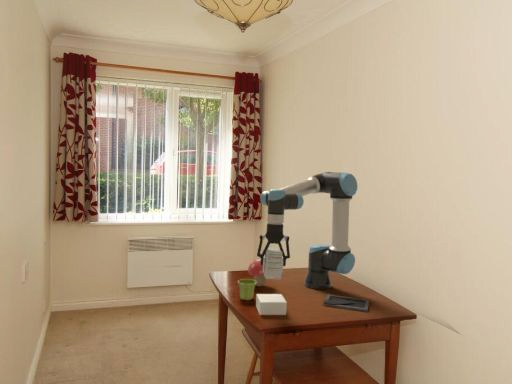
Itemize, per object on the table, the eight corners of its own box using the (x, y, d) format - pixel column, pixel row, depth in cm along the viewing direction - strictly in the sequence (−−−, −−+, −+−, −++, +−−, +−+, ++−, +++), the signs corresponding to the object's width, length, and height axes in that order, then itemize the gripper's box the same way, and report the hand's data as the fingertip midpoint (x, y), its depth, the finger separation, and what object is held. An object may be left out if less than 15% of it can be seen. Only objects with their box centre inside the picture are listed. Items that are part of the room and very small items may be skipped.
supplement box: (263, 274, 198) (264, 248, 197) (279, 275, 199) (280, 248, 198) (265, 279, 191) (266, 251, 190) (281, 279, 191) (283, 251, 191)
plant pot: (241, 302, 205) (242, 284, 204) (233, 296, 213) (234, 279, 213) (258, 300, 209) (259, 283, 209) (250, 294, 218) (251, 278, 217)
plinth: (280, 306, 203) (281, 294, 202) (286, 315, 191) (286, 302, 191) (255, 306, 201) (256, 294, 201) (259, 315, 189) (260, 302, 189)
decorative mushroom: (247, 282, 240) (248, 256, 239) (271, 283, 239) (272, 257, 238) (246, 289, 227) (247, 261, 226) (271, 290, 226) (272, 263, 225)
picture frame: (322, 306, 206) (367, 313, 200) (323, 302, 206) (367, 309, 200) (327, 297, 222) (368, 303, 215) (327, 293, 221) (369, 299, 215)
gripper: (252, 223, 190) (249, 273, 191) (298, 225, 189) (295, 275, 191) (252, 220, 197) (250, 269, 199) (297, 223, 197) (294, 271, 198)
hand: (272, 272), depth 195 cm, fingers closed on supplement box, 8 cm apart
